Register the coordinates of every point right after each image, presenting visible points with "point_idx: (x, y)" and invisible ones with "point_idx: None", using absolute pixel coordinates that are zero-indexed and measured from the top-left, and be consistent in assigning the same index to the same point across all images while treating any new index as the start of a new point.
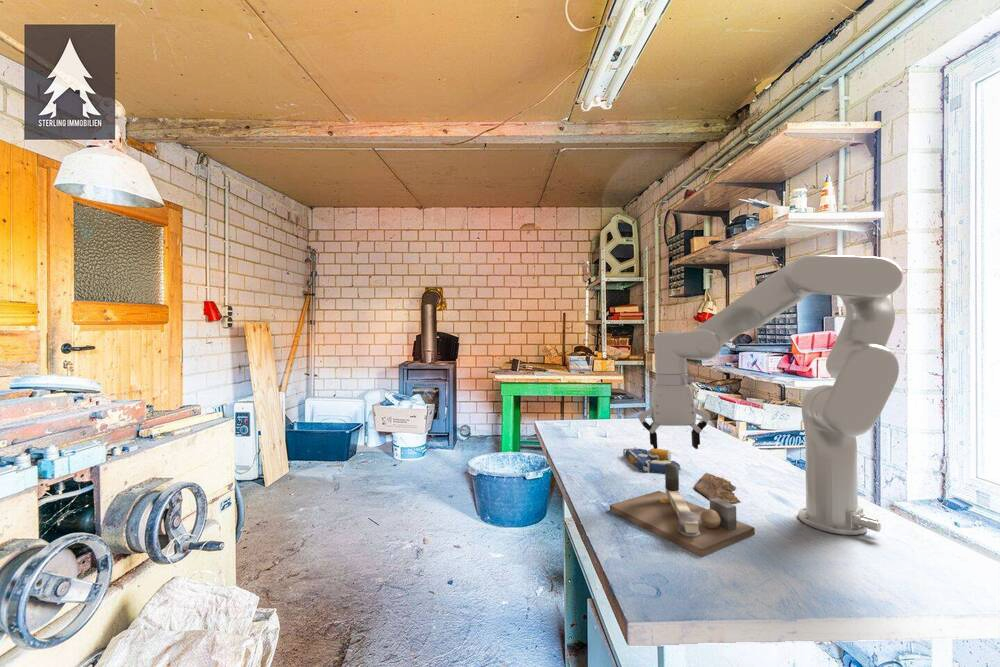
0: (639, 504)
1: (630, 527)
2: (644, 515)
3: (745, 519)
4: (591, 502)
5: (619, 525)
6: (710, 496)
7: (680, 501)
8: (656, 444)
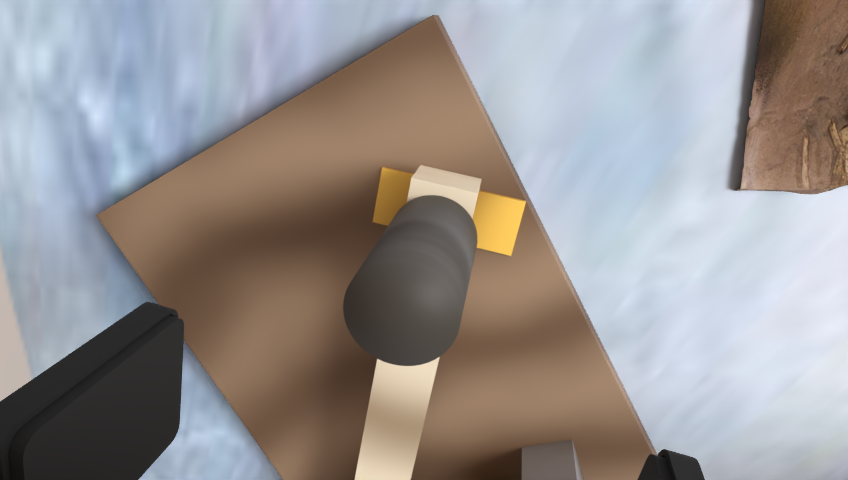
0: (248, 228)
1: (189, 371)
2: (244, 350)
3: (760, 379)
4: (30, 85)
5: None
6: (792, 65)
7: (400, 418)
8: (135, 474)
